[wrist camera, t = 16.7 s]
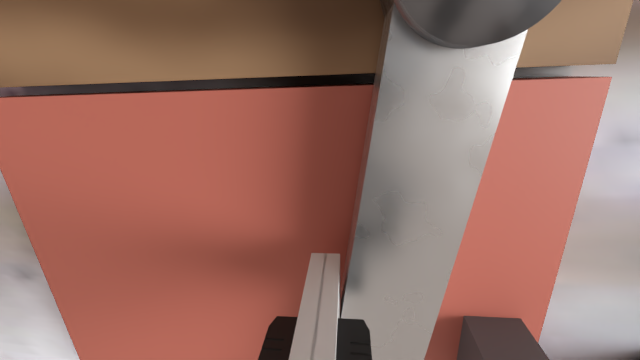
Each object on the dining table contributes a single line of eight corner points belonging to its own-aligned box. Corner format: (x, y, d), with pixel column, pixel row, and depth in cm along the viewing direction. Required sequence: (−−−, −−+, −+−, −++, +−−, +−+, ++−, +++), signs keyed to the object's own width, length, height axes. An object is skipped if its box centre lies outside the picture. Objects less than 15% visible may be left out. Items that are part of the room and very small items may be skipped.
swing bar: (392, -101, 10) (413, -199, 7) (532, -90, 10) (639, -187, 6) (316, 402, 20) (307, 481, 16) (389, 416, 19) (397, 499, 15)
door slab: (21, 95, 18) (-134, 105, 12) (569, 76, 14) (710, 78, 9) (117, 361, 25) (48, 445, 19) (496, 389, 21) (547, 502, 16)
